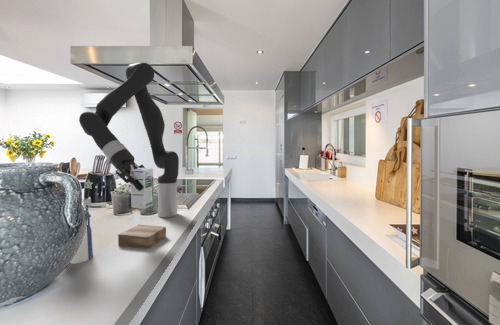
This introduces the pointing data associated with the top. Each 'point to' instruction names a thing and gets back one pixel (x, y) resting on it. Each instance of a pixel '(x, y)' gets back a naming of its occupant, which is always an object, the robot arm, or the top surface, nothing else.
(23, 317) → the top surface
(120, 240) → the walnut block
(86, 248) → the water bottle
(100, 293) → the top surface
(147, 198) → the syrup box
